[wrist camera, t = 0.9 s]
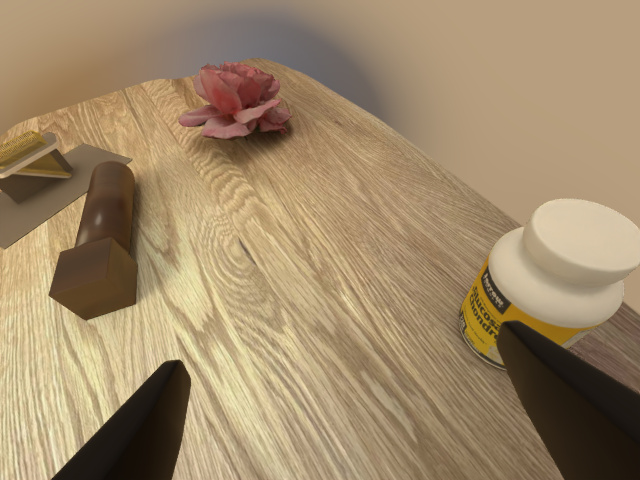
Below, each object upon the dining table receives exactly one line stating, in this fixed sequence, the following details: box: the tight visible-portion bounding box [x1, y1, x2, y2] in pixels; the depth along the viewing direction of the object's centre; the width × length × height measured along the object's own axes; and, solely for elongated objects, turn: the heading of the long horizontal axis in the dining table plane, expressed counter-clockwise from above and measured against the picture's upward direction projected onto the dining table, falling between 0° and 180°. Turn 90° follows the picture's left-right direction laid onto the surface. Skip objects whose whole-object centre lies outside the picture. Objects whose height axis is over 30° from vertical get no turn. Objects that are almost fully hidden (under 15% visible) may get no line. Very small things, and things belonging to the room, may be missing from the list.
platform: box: [0, 130, 133, 249], centre depth 39 cm, size 12×18×7 cm, turn 152°
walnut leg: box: [49, 160, 138, 320], centre depth 33 cm, size 20×4×4 cm, turn 20°
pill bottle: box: [459, 199, 640, 371], centre depth 19 cm, size 6×6×12 cm
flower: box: [179, 61, 292, 140], centre depth 43 cm, size 15×15×10 cm
